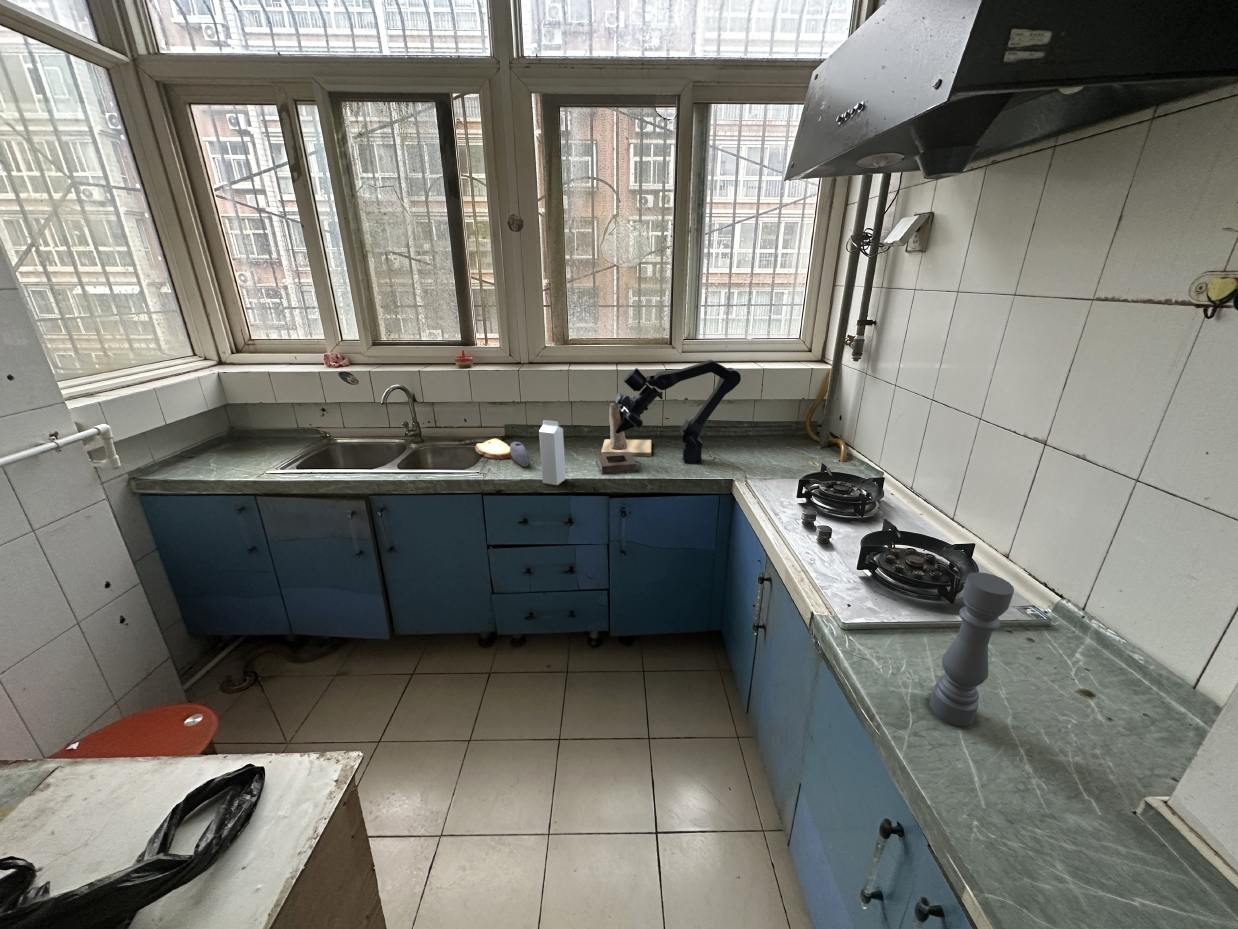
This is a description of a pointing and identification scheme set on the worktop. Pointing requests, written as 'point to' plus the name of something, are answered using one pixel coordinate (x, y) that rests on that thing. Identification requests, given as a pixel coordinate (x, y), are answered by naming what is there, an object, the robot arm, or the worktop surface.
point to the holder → (616, 463)
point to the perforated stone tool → (519, 453)
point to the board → (629, 447)
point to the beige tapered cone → (615, 420)
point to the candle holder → (970, 649)
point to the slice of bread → (493, 449)
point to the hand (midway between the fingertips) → (614, 430)
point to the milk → (552, 453)
